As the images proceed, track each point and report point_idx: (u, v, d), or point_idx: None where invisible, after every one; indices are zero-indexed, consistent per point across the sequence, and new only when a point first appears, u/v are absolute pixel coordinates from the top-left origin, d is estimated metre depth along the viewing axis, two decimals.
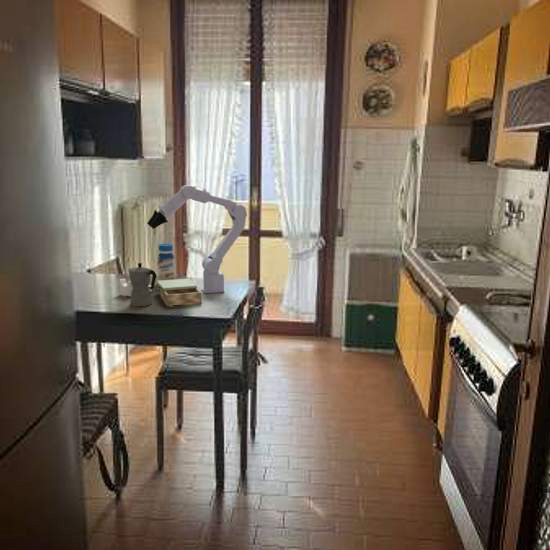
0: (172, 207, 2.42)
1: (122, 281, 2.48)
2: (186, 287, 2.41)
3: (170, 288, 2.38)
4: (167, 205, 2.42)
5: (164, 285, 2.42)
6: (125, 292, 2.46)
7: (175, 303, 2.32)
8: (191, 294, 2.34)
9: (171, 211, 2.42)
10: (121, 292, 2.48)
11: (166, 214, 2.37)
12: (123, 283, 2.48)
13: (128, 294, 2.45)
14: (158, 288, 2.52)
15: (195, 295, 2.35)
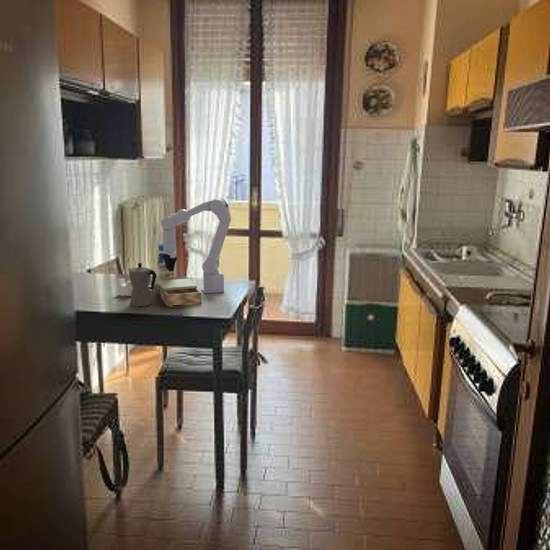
0: (170, 244, 2.54)
1: (121, 281, 2.48)
2: (186, 287, 2.41)
3: (170, 288, 2.38)
4: (166, 246, 2.54)
5: (164, 285, 2.42)
6: (123, 292, 2.47)
7: (175, 303, 2.32)
8: (191, 294, 2.34)
9: (172, 247, 2.55)
10: (120, 292, 2.48)
11: (171, 255, 2.51)
12: (122, 283, 2.48)
13: (127, 294, 2.45)
14: (158, 288, 2.52)
15: (195, 295, 2.35)
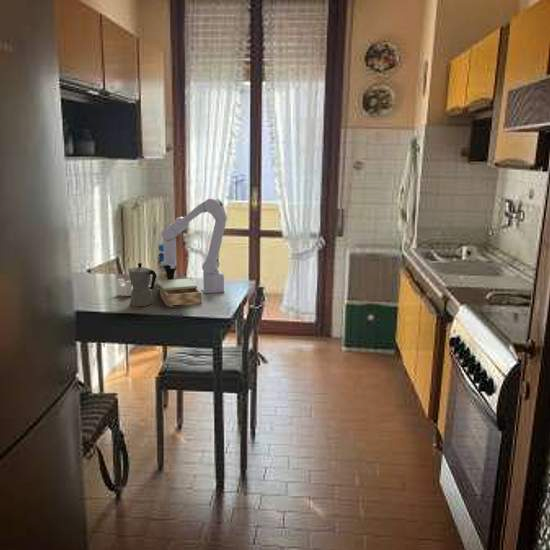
0: (171, 254, 2.55)
1: (120, 281, 2.48)
2: (186, 287, 2.41)
3: (170, 288, 2.38)
4: (166, 257, 2.55)
5: (164, 285, 2.42)
6: (123, 292, 2.46)
7: (175, 303, 2.32)
8: (191, 294, 2.34)
9: (173, 258, 2.56)
10: (119, 292, 2.48)
11: (172, 266, 2.52)
12: (121, 283, 2.48)
13: (126, 294, 2.45)
14: (158, 288, 2.52)
15: (195, 295, 2.35)
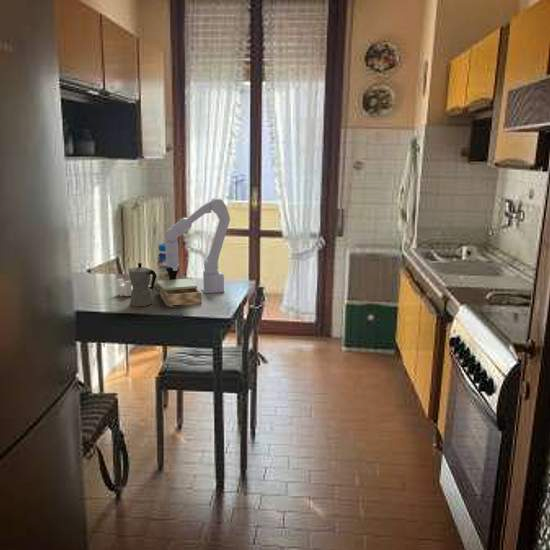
0: (173, 256, 2.50)
1: (120, 281, 2.48)
2: (186, 287, 2.41)
3: (170, 288, 2.38)
4: (168, 259, 2.51)
5: (164, 285, 2.42)
6: (122, 292, 2.46)
7: (175, 303, 2.32)
8: (191, 294, 2.34)
9: (175, 260, 2.51)
10: (119, 292, 2.48)
11: (174, 268, 2.47)
12: (121, 283, 2.48)
13: (125, 294, 2.45)
14: (158, 288, 2.52)
15: (195, 295, 2.35)
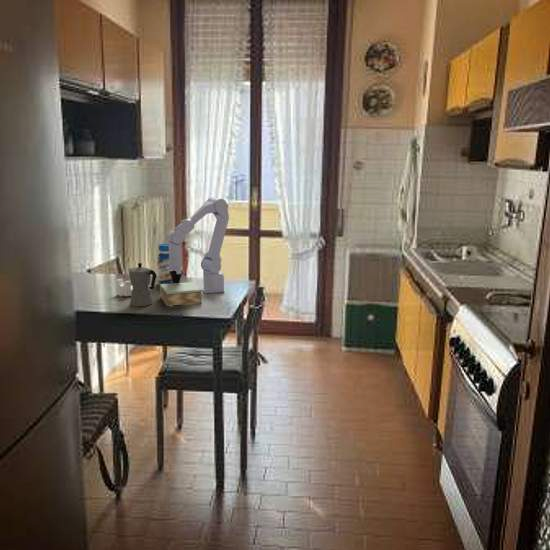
0: (176, 259, 2.43)
1: (119, 281, 2.48)
2: (190, 291, 2.34)
3: (174, 292, 2.31)
4: (172, 262, 2.43)
5: (168, 289, 2.35)
6: (122, 292, 2.46)
7: (175, 303, 2.32)
8: (191, 294, 2.34)
9: (179, 263, 2.44)
10: (118, 292, 2.48)
11: (178, 271, 2.40)
12: (120, 283, 2.48)
13: (125, 294, 2.45)
14: None
15: (195, 295, 2.35)
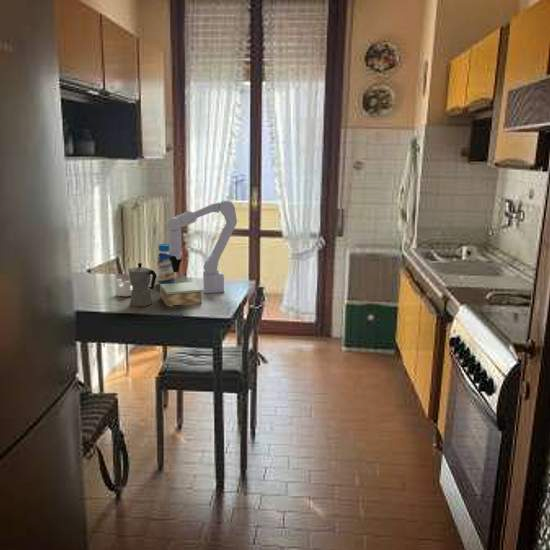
0: (176, 245, 2.51)
1: (119, 281, 2.47)
2: (190, 291, 2.34)
3: (174, 292, 2.31)
4: (172, 248, 2.51)
5: (168, 289, 2.35)
6: (121, 292, 2.46)
7: (175, 303, 2.32)
8: (191, 294, 2.34)
9: (178, 249, 2.52)
10: (117, 292, 2.48)
11: (178, 257, 2.48)
12: (120, 283, 2.47)
13: (124, 294, 2.44)
14: None
15: (195, 295, 2.35)
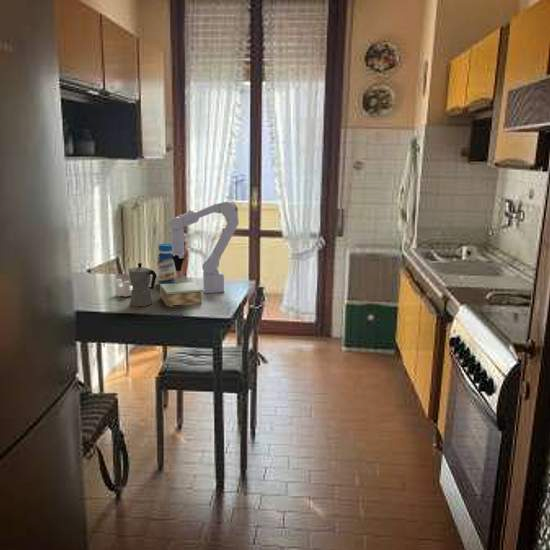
0: (179, 244, 2.53)
1: (118, 281, 2.47)
2: (190, 291, 2.34)
3: (174, 292, 2.31)
4: (174, 247, 2.53)
5: (168, 289, 2.35)
6: (120, 292, 2.46)
7: (175, 303, 2.32)
8: (191, 294, 2.34)
9: (181, 248, 2.54)
10: (117, 292, 2.48)
11: (180, 256, 2.50)
12: (119, 283, 2.47)
13: (124, 294, 2.44)
14: None
15: (195, 295, 2.35)
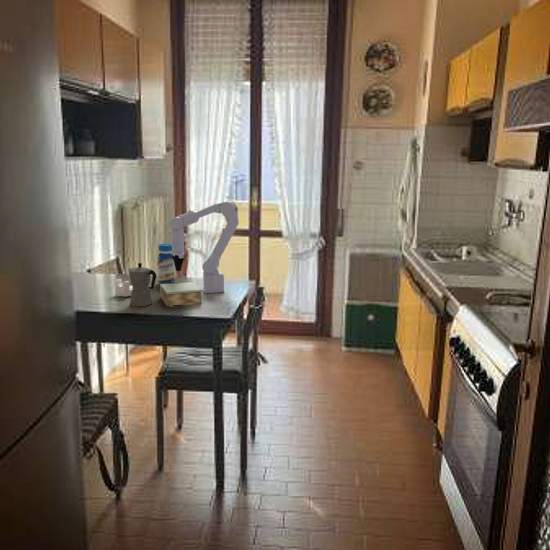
0: (179, 244, 2.53)
1: (118, 281, 2.47)
2: (190, 291, 2.34)
3: (174, 292, 2.31)
4: (174, 247, 2.53)
5: (168, 289, 2.35)
6: (120, 292, 2.46)
7: (175, 303, 2.32)
8: (191, 294, 2.34)
9: (181, 248, 2.54)
10: (117, 292, 2.47)
11: (180, 256, 2.50)
12: (119, 283, 2.47)
13: (123, 294, 2.44)
14: None
15: (195, 295, 2.35)
